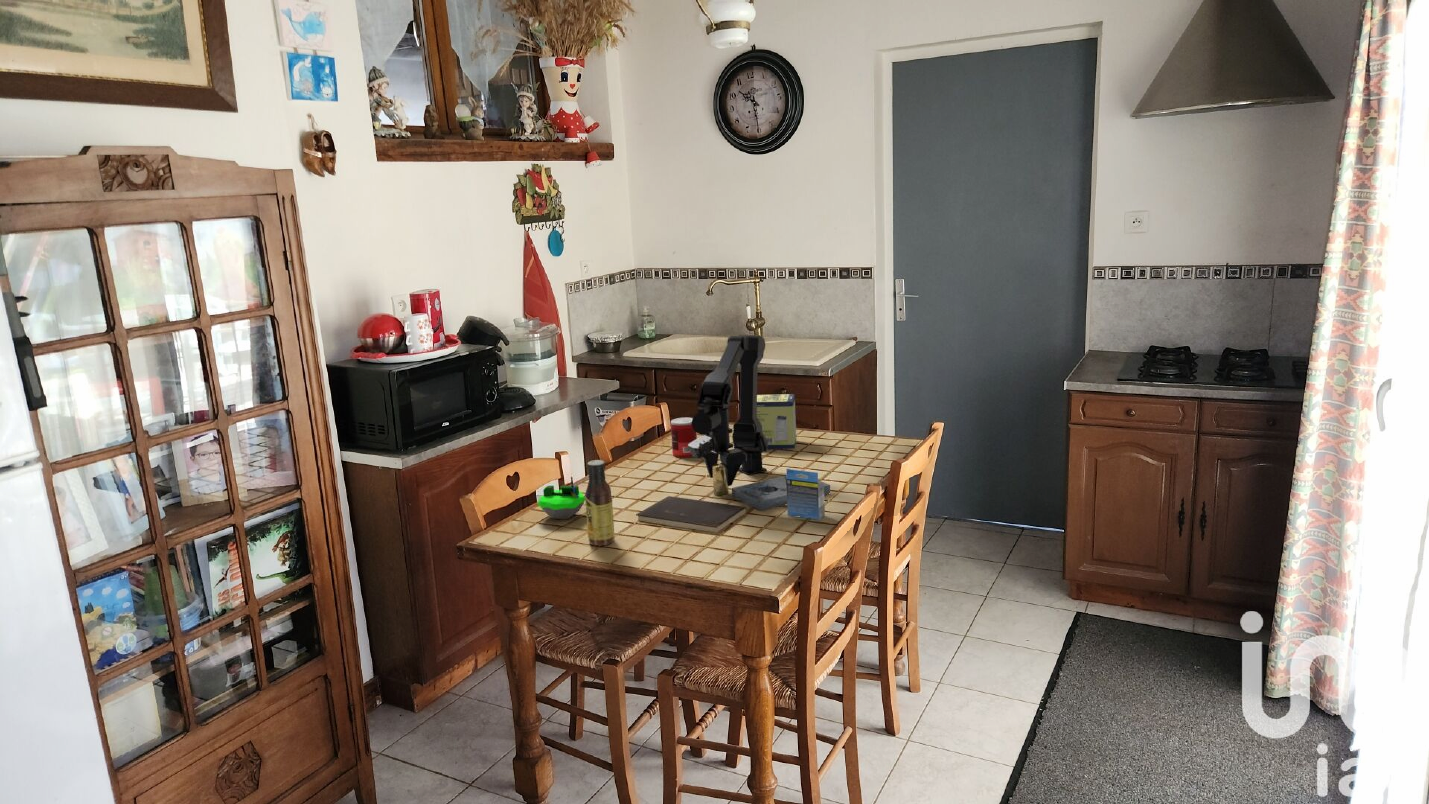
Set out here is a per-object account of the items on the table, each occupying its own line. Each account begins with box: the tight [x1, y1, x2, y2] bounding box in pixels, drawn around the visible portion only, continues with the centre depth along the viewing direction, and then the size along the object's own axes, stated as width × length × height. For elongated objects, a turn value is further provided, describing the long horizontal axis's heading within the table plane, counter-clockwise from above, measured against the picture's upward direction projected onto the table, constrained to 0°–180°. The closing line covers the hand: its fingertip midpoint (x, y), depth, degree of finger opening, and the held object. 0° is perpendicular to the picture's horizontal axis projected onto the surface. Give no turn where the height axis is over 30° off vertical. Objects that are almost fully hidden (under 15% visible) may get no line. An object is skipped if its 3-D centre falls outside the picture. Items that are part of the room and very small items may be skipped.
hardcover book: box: [635, 495, 748, 533], centre depth 238 cm, size 16×23×2 cm
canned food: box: [670, 416, 698, 459], centre depth 293 cm, size 8×8×11 cm
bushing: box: [712, 462, 730, 497], centre depth 254 cm, size 4×4×8 cm
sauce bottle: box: [584, 459, 615, 547], centre depth 221 cm, size 7×6×20 cm
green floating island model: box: [537, 476, 585, 520], centre depth 241 cm, size 12×12×11 cm
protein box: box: [757, 393, 797, 450], centre depth 299 cm, size 10×16×16 cm
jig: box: [731, 474, 831, 511], centre depth 251 cm, size 14×22×3 cm, turn 120°
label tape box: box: [785, 468, 826, 521], centre depth 233 cm, size 9×4×12 cm, turn 60°
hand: (720, 481), depth 254 cm, fingers open, 9 cm apart
